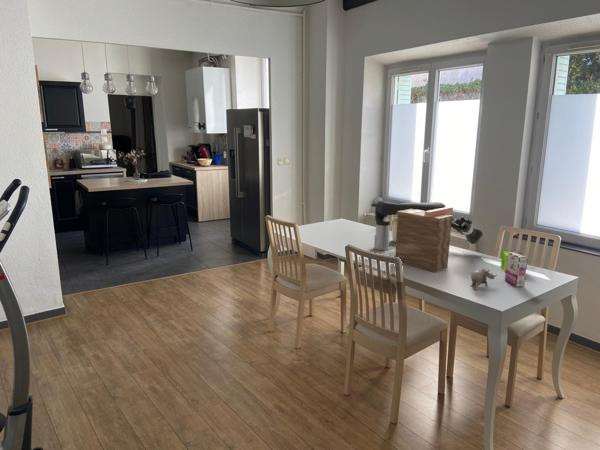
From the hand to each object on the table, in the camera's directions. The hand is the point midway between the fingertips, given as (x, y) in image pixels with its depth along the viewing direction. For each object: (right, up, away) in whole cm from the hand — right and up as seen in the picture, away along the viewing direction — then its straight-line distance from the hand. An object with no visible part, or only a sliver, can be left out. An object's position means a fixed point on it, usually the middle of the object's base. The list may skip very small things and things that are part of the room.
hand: (455, 217), depth 274 cm
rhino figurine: (-1, -37, -41) cm, 56 cm away
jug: (-22, -17, +52) cm, 59 cm away
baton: (-14, +2, -14) cm, 20 cm away
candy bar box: (+19, -37, -37) cm, 55 cm away
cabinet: (-23, -29, -5) cm, 37 cm away
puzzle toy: (+29, -32, -13) cm, 45 cm away
